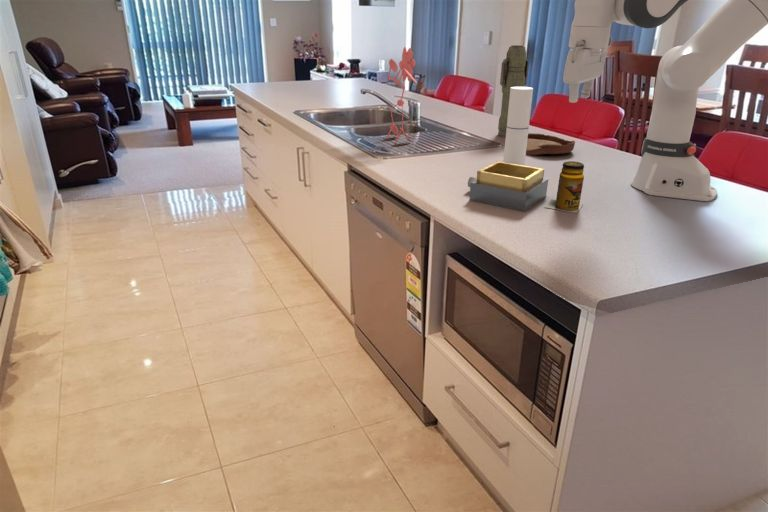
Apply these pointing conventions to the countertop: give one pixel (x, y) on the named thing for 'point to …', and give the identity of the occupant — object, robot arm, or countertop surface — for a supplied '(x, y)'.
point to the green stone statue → (512, 80)
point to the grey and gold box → (508, 186)
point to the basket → (547, 145)
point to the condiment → (569, 188)
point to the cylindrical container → (518, 125)
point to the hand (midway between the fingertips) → (579, 99)
